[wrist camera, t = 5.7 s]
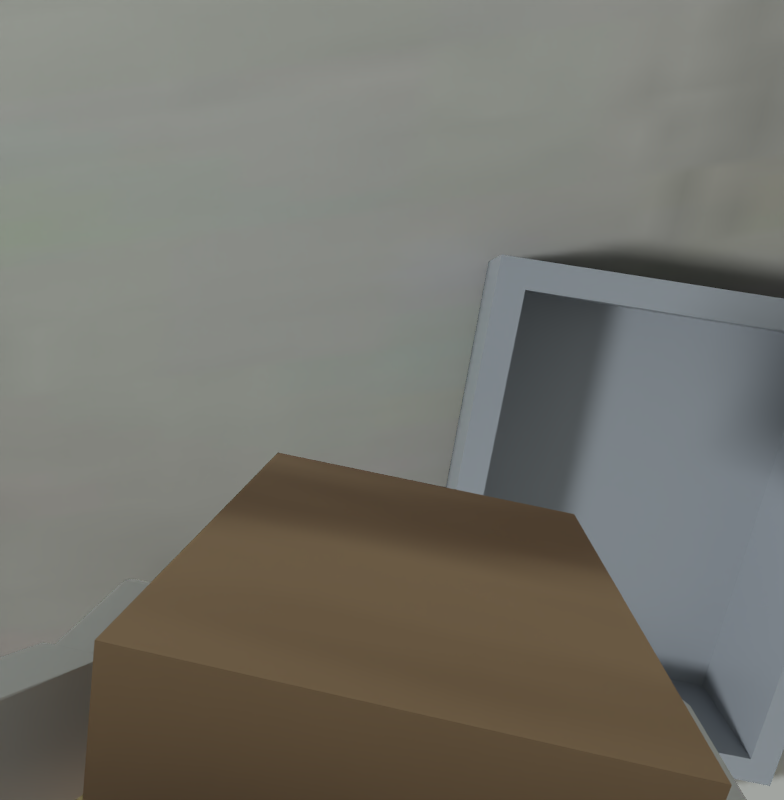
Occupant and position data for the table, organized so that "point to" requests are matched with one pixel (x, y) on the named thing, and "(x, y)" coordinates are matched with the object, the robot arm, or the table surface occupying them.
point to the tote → (650, 466)
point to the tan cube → (386, 658)
